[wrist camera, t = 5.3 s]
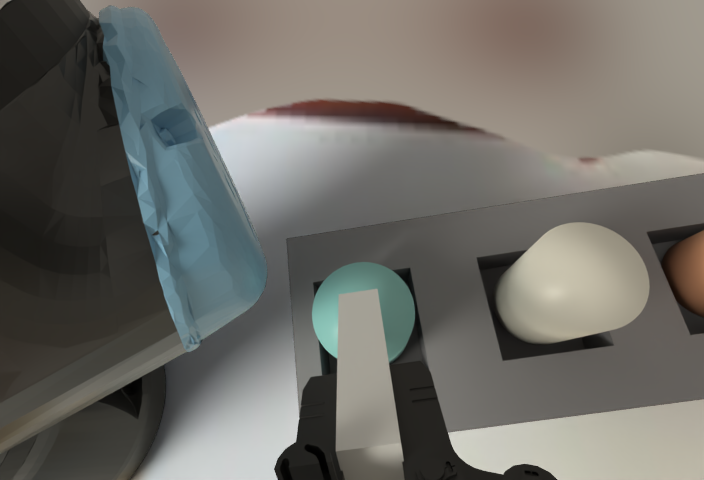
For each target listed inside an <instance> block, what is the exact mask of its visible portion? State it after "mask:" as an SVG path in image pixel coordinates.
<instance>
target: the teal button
mask: <svg viewBox="0 0 704 480" xmlns="http://www.w3.org/2000/svg"><path fill="white" fill-rule="evenodd" d="M372 289H378V296H379V302H380V309H381V315H382V321H383V328H384V334H385V341H386V347H387V354H388V360H389V365H390V364H391V363H393V362H394V361H395V360H396V359H397V358H398V357H399V356H400V355H401V354H402V352H403V351H404V349H405V347H406V345H407V342H408V340H409V337H410V335H411V333H412V330H413V326H414V321H415V306H414V301H413V297H412V295H411V292H410V290H409V288H408V287H407V285H406V284H405V282H404V281H403V280H402V279H401V278H400V277H399V276H398V275H397V274H396V273H395V272H393V271H392V270H390V269H389V268H387V267H385V266H382V265H379V264H376V263H370V262H357V263H352V264H348V265H345V266H343V267H341V268H339V269H337V270H336V271H334V272H333V273H332V274H330V275H329V276H328V277H327V278H326V279H325V280H324V281H323V283H322V284H321V286H320V287H319V289H318V291H317V293H316V296H315V298H314V302H313V308H312V321H313V326H314V330H315V333H316V335H317V337H318V339H319V341H320V343H321V344H322V345H323V347H324V348H325V349H326V350H327V351H328V352H329V353H330V354H331V355H333V356H334V357H335V358H337V355H338V302H339V294H345V293H352V292H358V291H365V290H372Z"/></svg>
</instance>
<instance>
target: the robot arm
mask: <svg viewBox="0 0 704 480" xmlns="http://www.w3.org/2000/svg"><path fill="white" fill-rule="evenodd" d="M266 279H267V263H266V259H265V256H264V253H263V251H262V248H261V245H260V243H259V240H258V238H257V235H256V233H255V230H254V228H253V226H252V223H251V221H250V219H249V216H248V214H247V212H246V210H245V207H244V205H243V203H242V201H241V198H240V196H239V194H238V192H237V189H236V187H235V185H234V183H233V181H232V178H231V176H230V174H229V172H228V170H227V167H226V165H225V163H224V161H223V159H222V157H221V155H220V153H219V150H218V148H217V146H216V144H215V142H214V140H213V138H212V136H211V133H210V131H209V129H208V127H207V125H206V123H205V121H204V118H203V116H202V114H201V112H200V110H199V108H198V106H197V104H196V102H195V100H194V98H193V96H192V94H191V92H190V90H189V88H188V85H187V84H186V81H185V79H184V77H183V75H182V73H181V71H180V69H179V67H178V66H177V64H176V62H175V60H174V58H173V56H172V54H171V53H170V51H169V49H168V47H167V46H166V44H165V42H164V40H163V38H162V36H161V34H160V31H159V29H158V27H157V26H156V24H155V23H154V21H153V20H152V18H151V17H150V16H149V15H148V14H147V13H146V12H145V11H143V10H142V9H139V8H135V7H128V8H122V9H119V8H117V7H115V6H108V7H106V8H104V9H102V10H101V11H100V12H99V18H96V17H95V16H94V15H92V14H91V13H90V12H89V11H88V10H86V8H85V7H84V5H83V4H82V3H81V1H80V0H0V480H129V478H130V477H131V476H132V475H133V474H134V472H135V471H136V470H137V468H138V467H139V465H140V464H141V462H142V461H143V459H144V458H145V456H146V454H147V452H148V451H149V449H150V447H151V445H152V442H153V440H154V438H155V436H156V433H157V430H158V427H159V424H160V421H161V417H162V413H163V408H164V402H165V388H166V383H165V370H164V364H165V363H167V362H169V361H171V360H173V359H175V358H176V357H178V356H180V355H182V354H184V353H185V352H191V351H193V350H195V349H196V348H197V347H199V345H200V344H201V342H202V340H203V339H204V338H206V337H207V336H209V335H210V334H212V333H214V332H215V331H217V330H218V329H220V328H221V327H223V326H224V325H226V324H227V323H229V322H230V321H232V320H233V319H235V318H237V317H238V316H240V315H241V314H243V313H244V312H246V311H247V310H249V309H250V308H251V307H252V306H253V305H254V304H255V303H256V302H257V301H258V299H259V297H260V296H261V294H262V293H263V291H264V288H265V284H266ZM299 417H300V420H299V424H298V432H297V440H296V443H294V444H292V445H291V446H289V447H288V448H287V449H285V450H284V452H283V453H282V454H281V455H280V457H279V458H278V460H277V463H276V466H275V468H274V470H275V473H276V475H277V478H278V480H557V479H556V478H555V477H554V476H553V475H552V474H551V473H550V472H548V471H546V470H544V469H542V468H540V467H538V466H533V465H528V464H521V465H515V466H513V467H511V468H510V469H508V470H507V471H505V473H504V475H502V474H497V473H492V472H487V471H482V470H479V469H476V468H473V467H472V466H470V465H468V464H466V463H465V462H464V461H463V460H462V459H460V458H459V457H458V455H457V454H456V453H455V451H454V450H453V447H452V445H451V442H450V439H449V435H448V432H447V428H446V425H445V421H444V418H443V414H442V411H441V407H440V404H439V400H438V397H437V393H436V390H435V386H434V382H433V379H432V375H431V372H430V371H429V370H428V368H427V367H426V366H425V365H424V364H423V363H422V362H421V361H414V362H407V363H400V364H393V365H389V360H388V354H387V347H386V341H385V334H384V328H383V321H382V315H381V309H380V302H379V296H378V289H372V290H365V291H358V292H352V293H345V294H339V302H338V355H337V373H335V374H328V375H321V376H314V377H310V379H309V381H308V382H307V384H306V386H305V387H304V389H303V392H302V400H301V408H300V416H299Z"/></svg>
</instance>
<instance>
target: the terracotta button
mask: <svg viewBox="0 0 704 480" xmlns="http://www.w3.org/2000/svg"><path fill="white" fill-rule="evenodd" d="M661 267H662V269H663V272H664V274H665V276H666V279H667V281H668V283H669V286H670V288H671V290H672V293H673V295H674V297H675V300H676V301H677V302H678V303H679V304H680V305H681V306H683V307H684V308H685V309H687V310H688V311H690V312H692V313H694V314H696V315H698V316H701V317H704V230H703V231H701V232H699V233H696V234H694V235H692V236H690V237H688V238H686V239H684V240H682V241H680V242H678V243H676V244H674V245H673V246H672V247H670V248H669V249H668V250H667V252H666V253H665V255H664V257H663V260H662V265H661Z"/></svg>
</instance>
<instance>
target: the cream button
mask: <svg viewBox="0 0 704 480" xmlns="http://www.w3.org/2000/svg"><path fill="white" fill-rule="evenodd" d="M649 288H650V286H649V276H648V272H647V269H646V266H645V264H644V262H643V260H642V258H641V256H640V255H639V253H638V252H637V251H636V250H635V248H634V247H633V246H632V245H631V244H630V243H629V242H628V241H627V240H626V239H624V238H623V237H622V236H620V235H619V234H617V233H616V232H614V231H612V230H610V229H608V228H605V227H603V226H600V225H596V224H592V223H585V222H574V223H567V224H563V225H560V226H557V227H555V228H553V229H551V230H549V231H548V232H547V233H545V234H544V235H543V236H542V237H541V238H540V239H539V240H538V241H537V242H536V243H535V244H534V245H532V246H531V247H530V248H529V249H528V250H527V251H526V252H525V253H524V254H523V255H522V256H521V257H520V258H519V259H518V260H517V261H516V262H515V263H514V264H513V265H512V266H511V267H509V268H508V269H507V270H506V271H505V272H504V273H503V274H502V275H501V276H500V278H499V279H498V281H497V282H496V284H495V287H494V291H493V307H494V311H495V314H496V316H497V318H498V320H499V321H500V323H501V324H502V326H503V327H504V328H505V329H506V330H507V331H508V332H509V333H510V334H511V335H513V336H514V337H516V338H518V339H519V340H521V341H524V342H527V343H530V344H535V345H548V344H553V343H557V342H561V341H566V340H570V339H575V338H579V337H584V336H588V335H592V334H597V333H601V332H606V331H610V330H614V329H618V328H621V327H623V326H625V325H627V324H629V323H630V322H632V321H633V320H634V319H635V318H636V317H637V316H638V315H639V314H640V313H641V312H642V310H643V309H644V307H645V305H646V302H647V299H648V296H649Z"/></svg>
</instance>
